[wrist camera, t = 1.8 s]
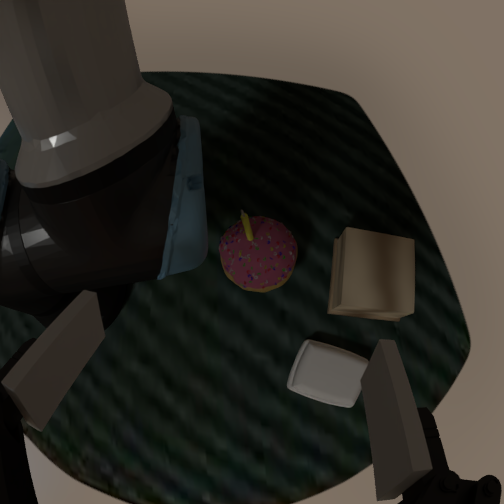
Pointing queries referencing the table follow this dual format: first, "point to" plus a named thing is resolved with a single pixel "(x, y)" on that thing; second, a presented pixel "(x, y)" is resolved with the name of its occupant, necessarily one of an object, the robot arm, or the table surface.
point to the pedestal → (372, 275)
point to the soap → (327, 373)
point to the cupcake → (258, 253)
